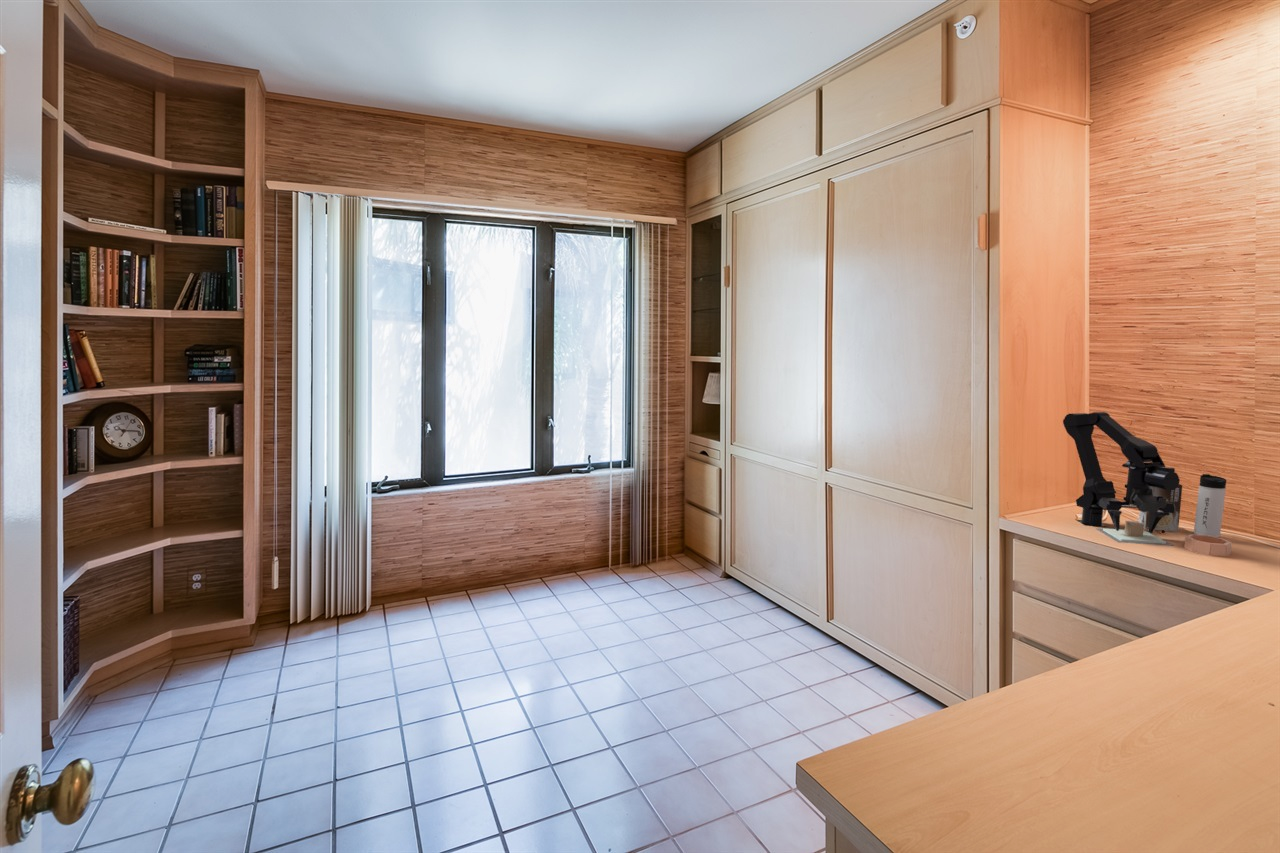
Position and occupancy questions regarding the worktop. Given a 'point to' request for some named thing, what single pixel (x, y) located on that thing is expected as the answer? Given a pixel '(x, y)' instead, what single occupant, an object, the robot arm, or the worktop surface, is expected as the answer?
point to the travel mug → (1210, 505)
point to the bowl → (1208, 545)
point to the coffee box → (1170, 520)
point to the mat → (1133, 542)
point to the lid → (1134, 533)
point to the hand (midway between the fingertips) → (1133, 531)
